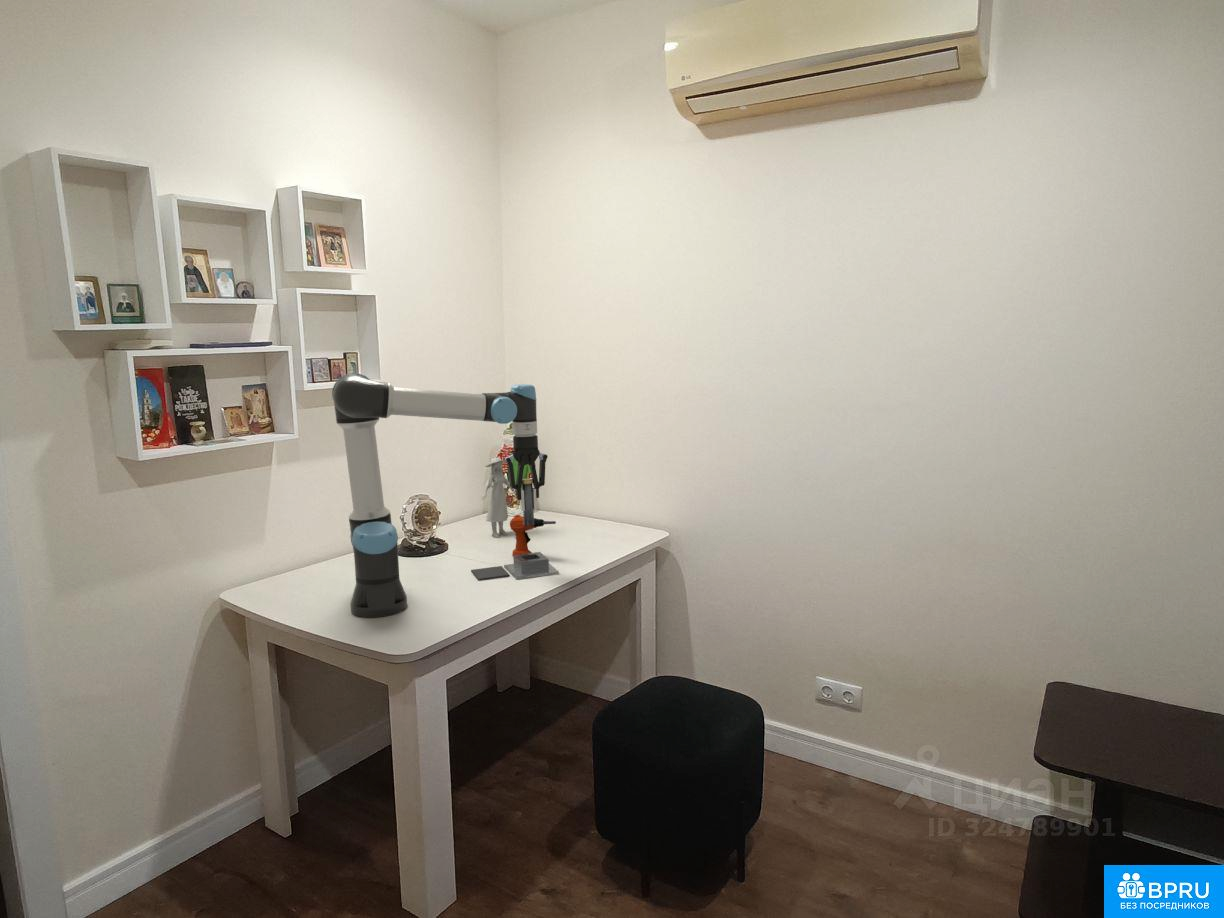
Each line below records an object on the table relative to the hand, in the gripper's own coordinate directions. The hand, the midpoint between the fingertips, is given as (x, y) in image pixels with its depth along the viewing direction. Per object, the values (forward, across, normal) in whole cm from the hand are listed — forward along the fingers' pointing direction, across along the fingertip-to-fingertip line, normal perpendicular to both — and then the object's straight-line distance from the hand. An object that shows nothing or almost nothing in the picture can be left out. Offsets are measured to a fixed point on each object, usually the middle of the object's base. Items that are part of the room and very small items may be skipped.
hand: (528, 508), depth 239 cm
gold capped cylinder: (+5, 0, 0) cm, 5 cm away
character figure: (+22, +2, +51) cm, 55 cm away
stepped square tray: (+21, +1, +4) cm, 22 cm away
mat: (+21, -12, +5) cm, 25 cm away
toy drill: (+22, +6, +17) cm, 28 cm away
